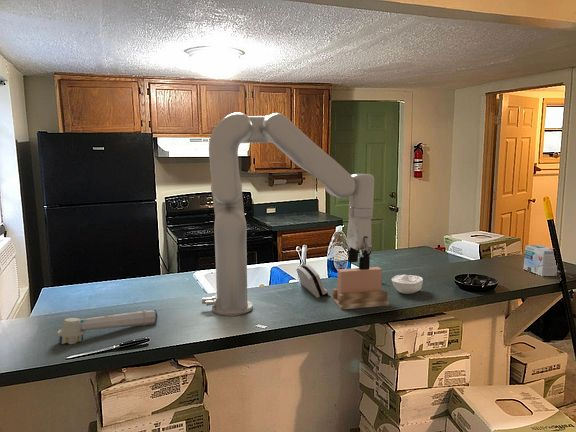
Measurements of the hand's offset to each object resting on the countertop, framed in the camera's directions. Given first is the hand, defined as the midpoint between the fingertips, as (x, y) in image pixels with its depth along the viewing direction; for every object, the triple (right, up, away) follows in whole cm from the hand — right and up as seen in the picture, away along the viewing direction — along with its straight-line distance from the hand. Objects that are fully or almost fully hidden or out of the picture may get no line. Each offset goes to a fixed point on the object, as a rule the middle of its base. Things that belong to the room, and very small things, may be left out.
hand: (358, 265), depth 139 cm
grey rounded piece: (-14, -11, +15) cm, 23 cm away
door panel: (+1, -11, +2) cm, 11 cm away
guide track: (+1, -12, +2) cm, 12 cm away
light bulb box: (+78, -7, +35) cm, 86 cm away
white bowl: (+19, -11, +12) cm, 25 cm away
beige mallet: (-71, -16, -21) cm, 76 cm away
